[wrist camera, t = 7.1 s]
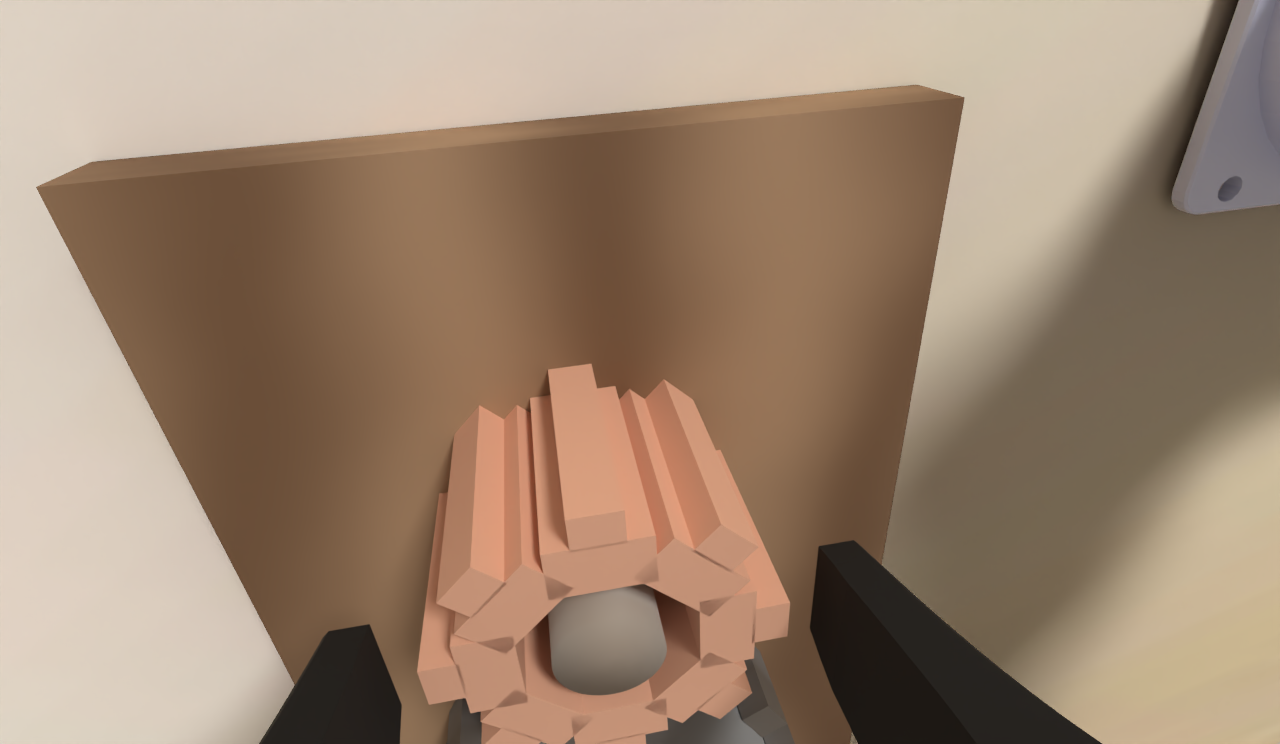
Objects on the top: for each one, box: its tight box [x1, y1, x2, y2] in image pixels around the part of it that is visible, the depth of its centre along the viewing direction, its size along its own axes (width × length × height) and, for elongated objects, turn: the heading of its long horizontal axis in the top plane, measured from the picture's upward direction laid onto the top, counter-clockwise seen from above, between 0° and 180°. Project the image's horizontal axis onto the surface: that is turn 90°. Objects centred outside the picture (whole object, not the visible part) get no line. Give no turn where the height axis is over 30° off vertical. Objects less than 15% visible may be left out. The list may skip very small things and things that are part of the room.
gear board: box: [36, 85, 964, 744], centre depth 15 cm, size 14×22×6 cm, turn 4°
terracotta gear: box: [417, 364, 790, 744], centre depth 12 cm, size 6×6×4 cm
